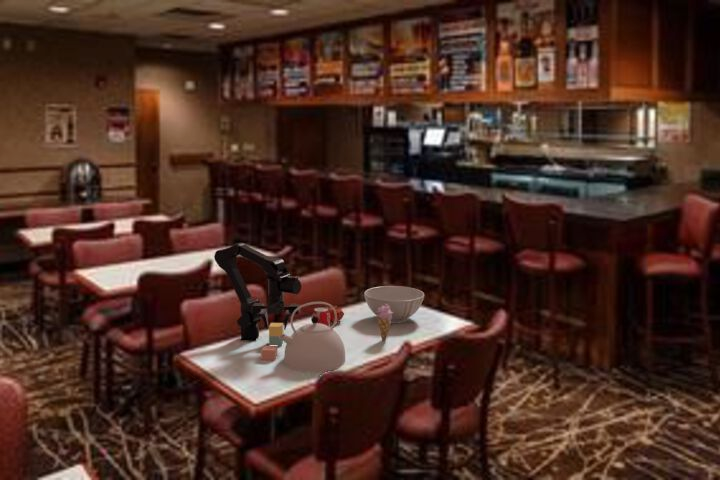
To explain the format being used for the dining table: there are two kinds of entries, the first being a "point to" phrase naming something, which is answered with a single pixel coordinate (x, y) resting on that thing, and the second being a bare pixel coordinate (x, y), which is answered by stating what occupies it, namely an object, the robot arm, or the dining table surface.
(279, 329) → the mustard brick
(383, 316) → the ice cream cone
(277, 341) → the teal base brick
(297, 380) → the dining table surface
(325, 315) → the soda can
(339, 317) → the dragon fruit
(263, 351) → the terracotta brick
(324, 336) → the kettle
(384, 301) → the decorative bowl
